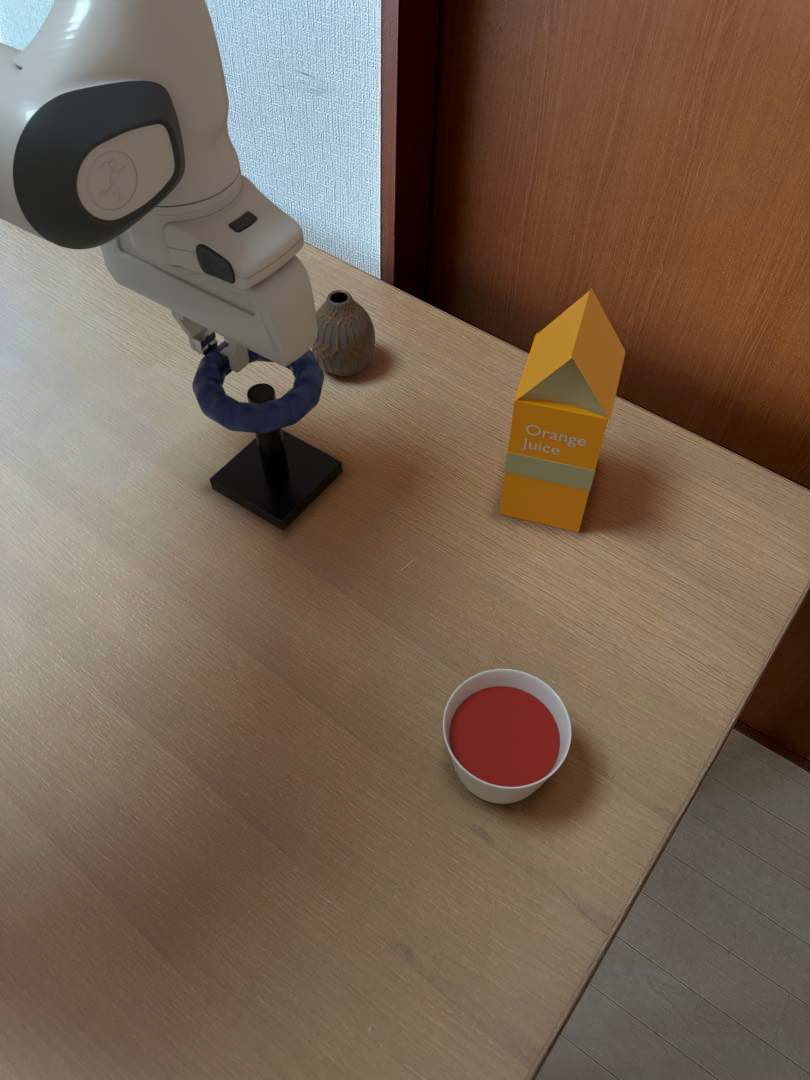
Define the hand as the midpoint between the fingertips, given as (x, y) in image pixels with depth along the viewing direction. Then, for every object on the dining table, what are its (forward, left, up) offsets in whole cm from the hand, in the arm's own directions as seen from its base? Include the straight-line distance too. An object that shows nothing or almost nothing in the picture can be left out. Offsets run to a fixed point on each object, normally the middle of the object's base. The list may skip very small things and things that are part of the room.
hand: (221, 357), depth 71 cm
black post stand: (0, -4, -13) cm, 14 cm away
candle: (-12, -37, -14) cm, 41 cm away
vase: (+17, +1, -14) cm, 22 cm away
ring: (0, -4, -1) cm, 4 cm away
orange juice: (+14, -26, -14) cm, 33 cm away
